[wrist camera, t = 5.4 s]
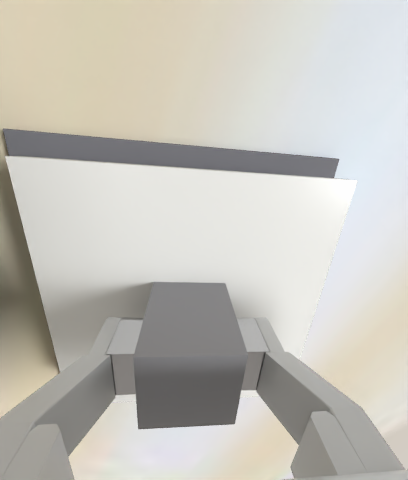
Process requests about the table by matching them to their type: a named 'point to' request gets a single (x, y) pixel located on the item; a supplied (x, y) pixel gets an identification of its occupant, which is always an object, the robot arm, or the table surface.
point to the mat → (163, 154)
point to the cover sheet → (177, 269)
